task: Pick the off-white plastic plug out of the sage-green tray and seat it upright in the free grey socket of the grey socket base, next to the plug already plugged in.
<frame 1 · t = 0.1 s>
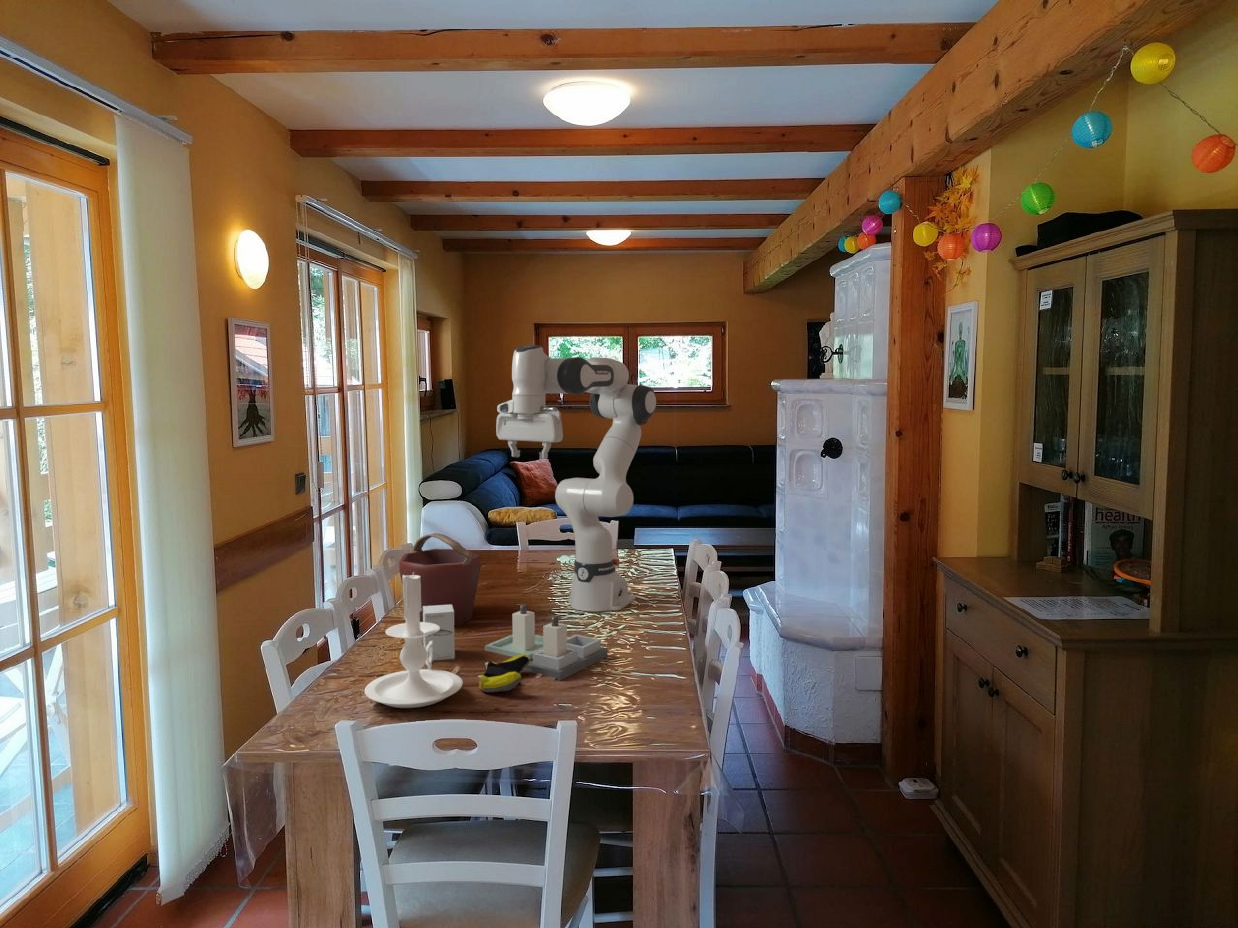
hand: (529, 457, 225), 48 cm above the table, tool pointing down, fingers open, 8 cm apart
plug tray: (523, 649, 215), on the table
grey socket base: (567, 664, 203), on the table
supplement box: (439, 658, 209), on the table
plug: (523, 647, 214), point 1 cm above the table, touching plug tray
bucket: (439, 621, 241), on the table
candlestick: (417, 696, 183), on the table
yellow black curved piece: (503, 686, 190), on the table
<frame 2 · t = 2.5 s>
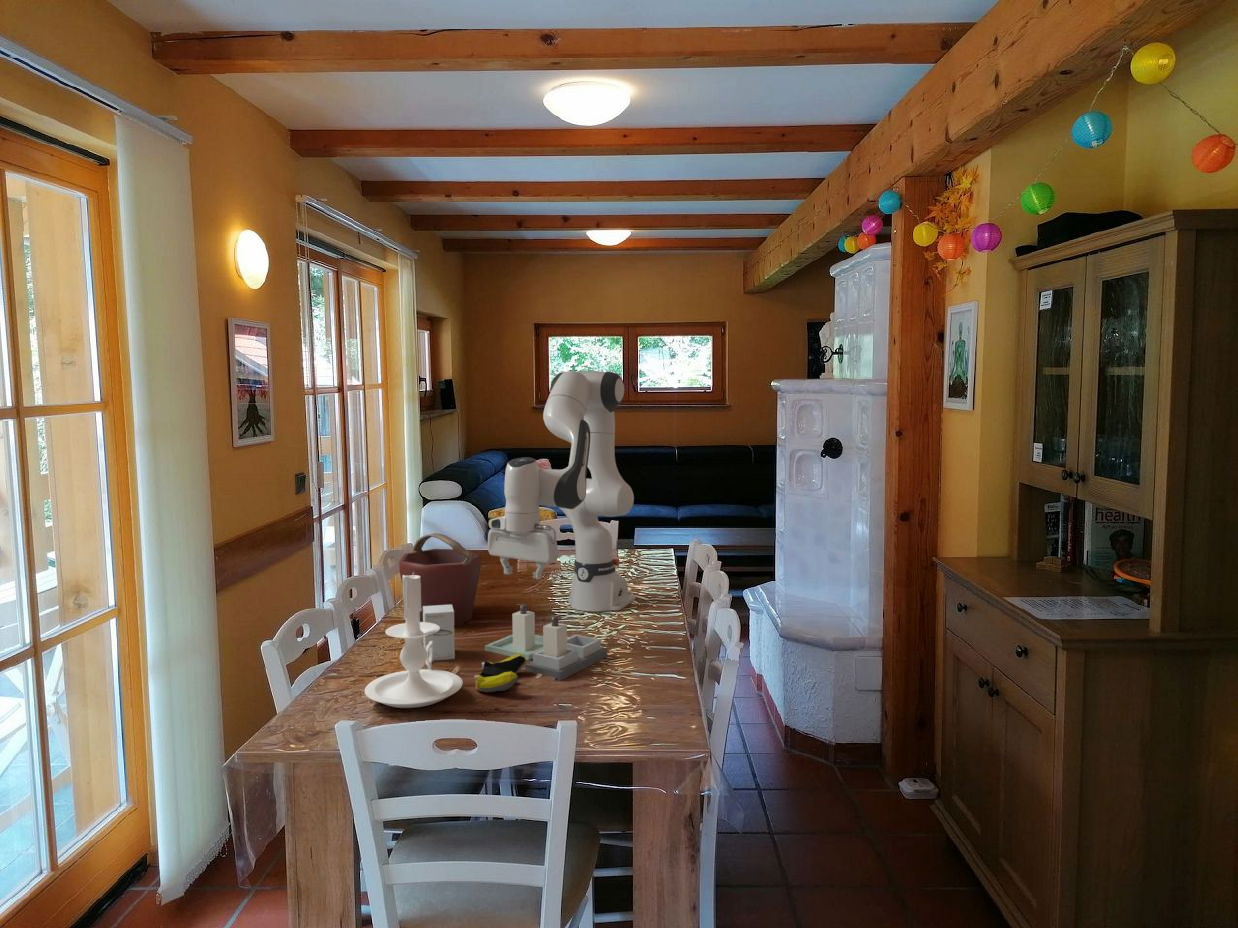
hand: (522, 576, 212), 19 cm above the table, tool pointing down, fingers open, 8 cm apart
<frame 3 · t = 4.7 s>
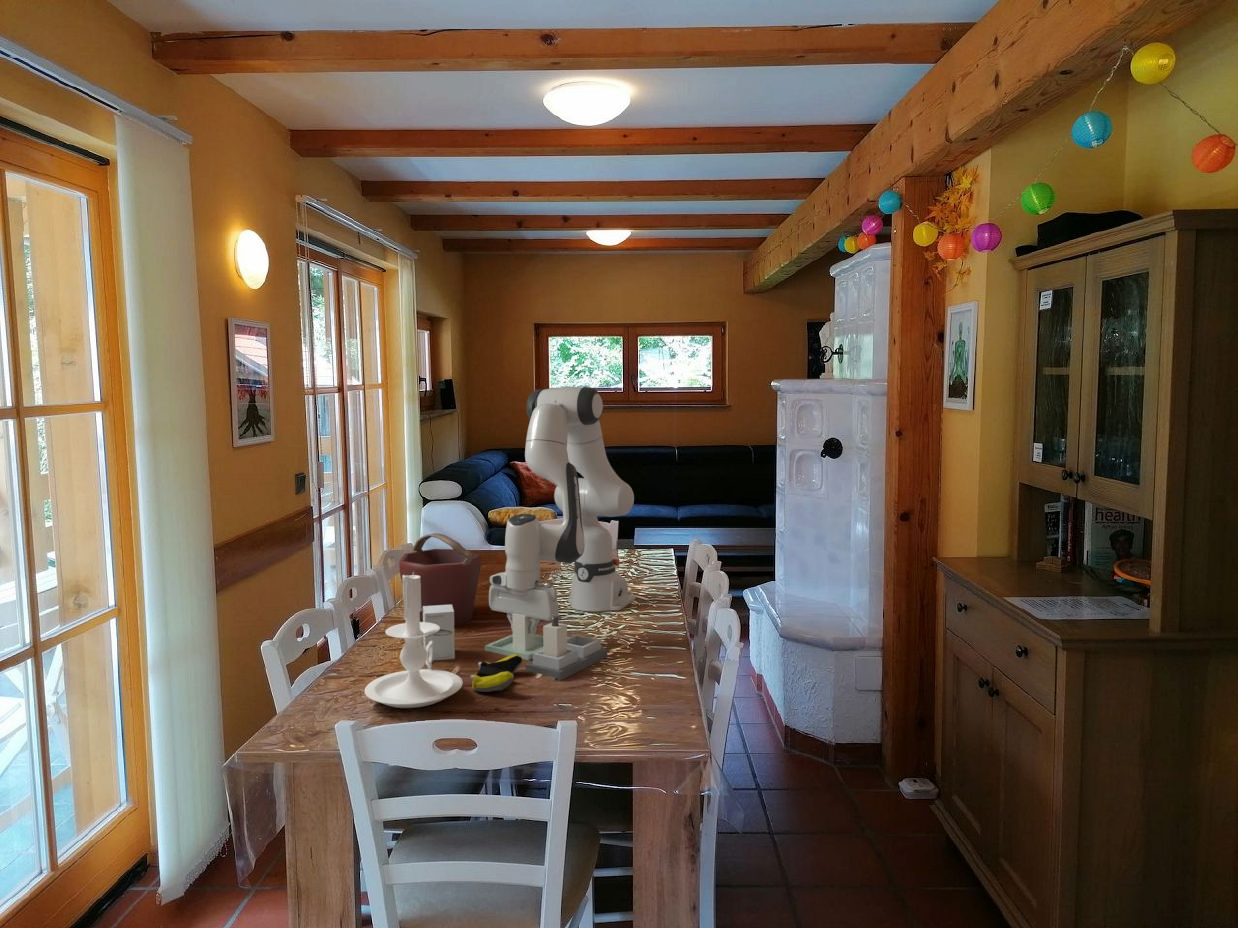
hand: (523, 631, 214), 5 cm above the table, tool pointing down, fingers closed on plug, 4 cm apart
plug: (523, 647, 214), point 1 cm above the table, touching gripper, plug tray
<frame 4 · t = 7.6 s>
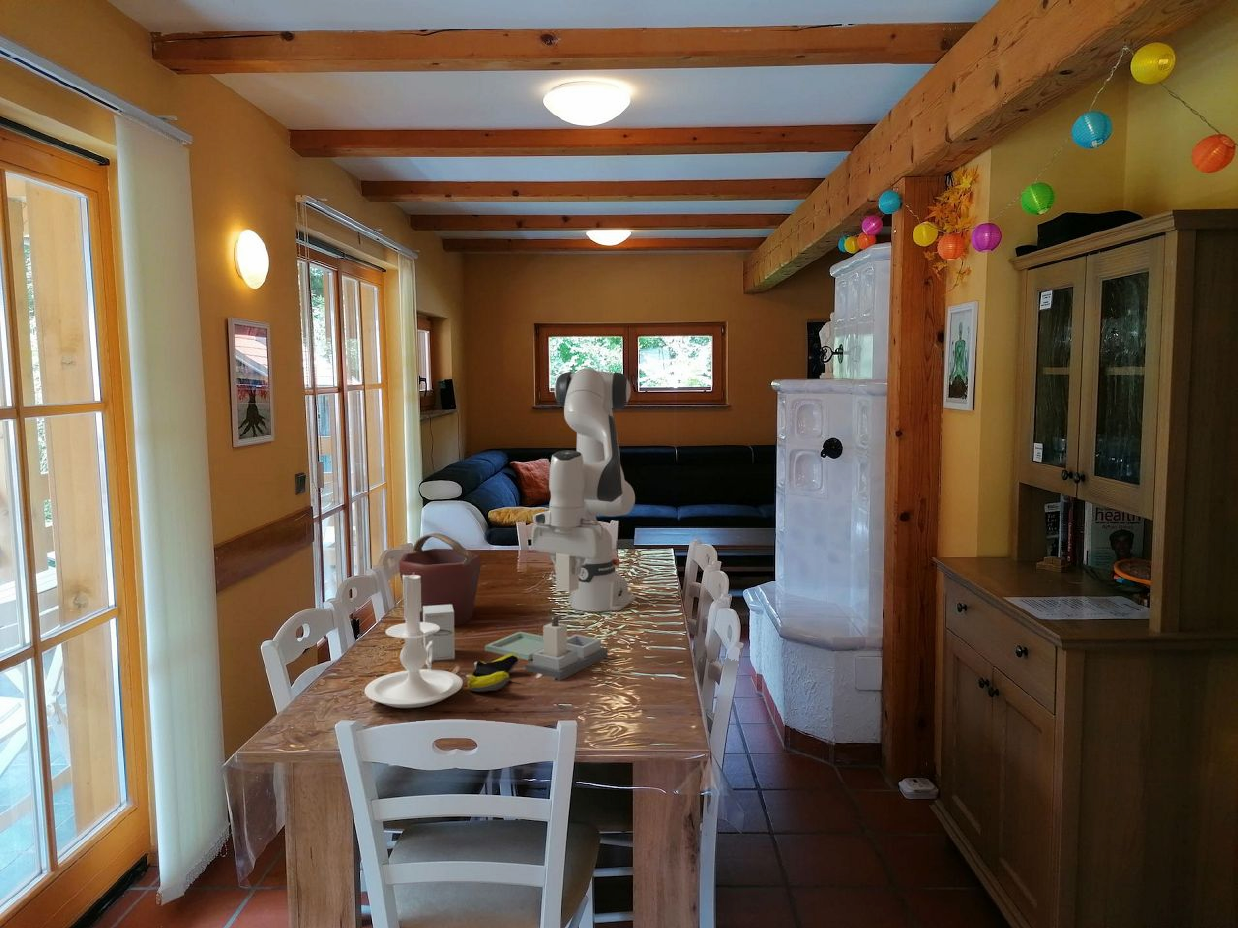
hand: (567, 572, 207), 21 cm above the table, tool pointing down, fingers closed on plug, 4 cm apart
plug: (567, 589, 207), point 17 cm above the table, touching gripper
yellow black curved piece: (492, 686, 190), on the table
everything else where it was.
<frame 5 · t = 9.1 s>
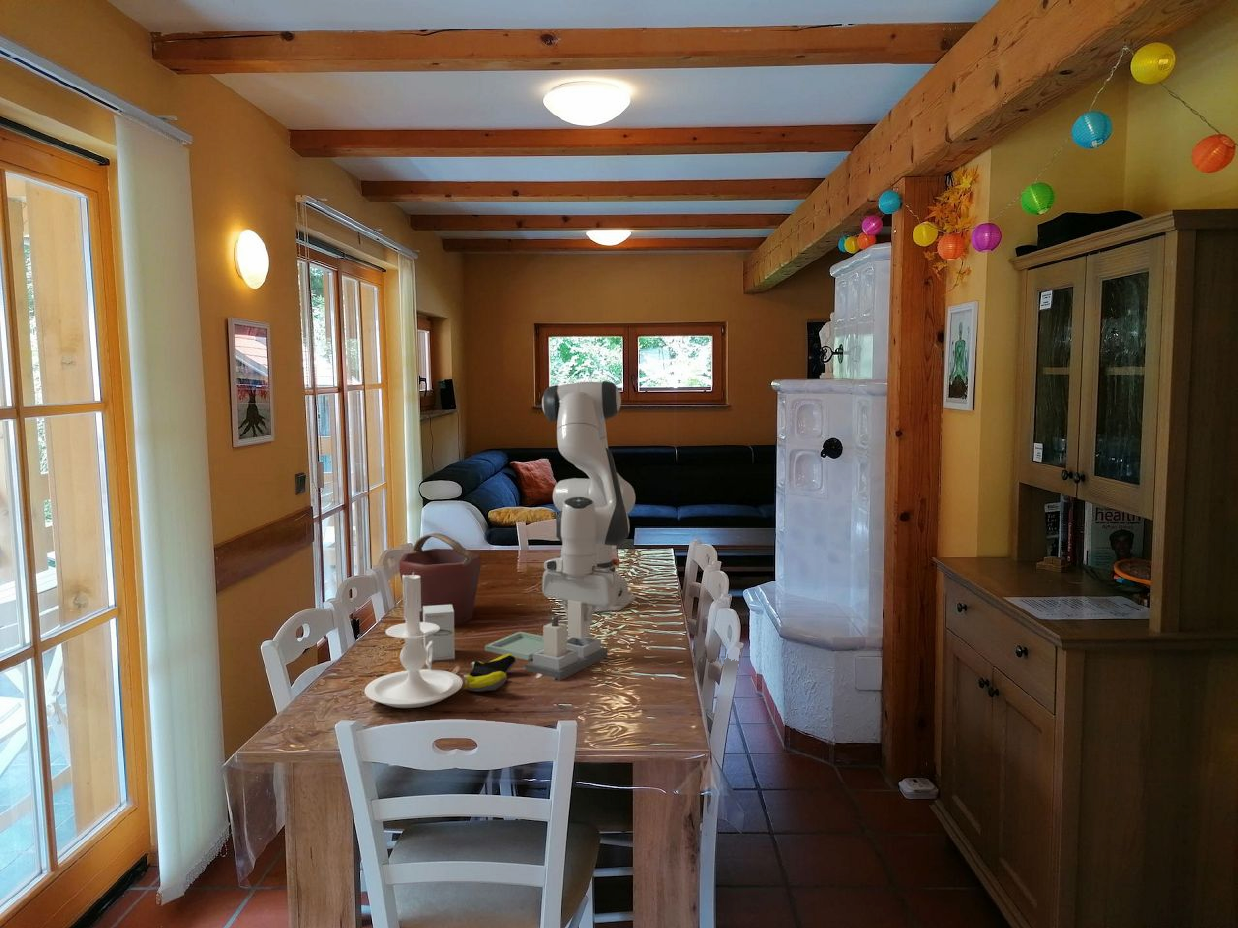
hand: (579, 619, 207), 10 cm above the table, tool pointing down, fingers closed on plug, 4 cm apart
plug: (579, 635, 207), point 6 cm above the table, touching gripper
when the fingers open (6 cm above the table, at t = 10.5 s): plug stays where it is, resting on grey socket base.
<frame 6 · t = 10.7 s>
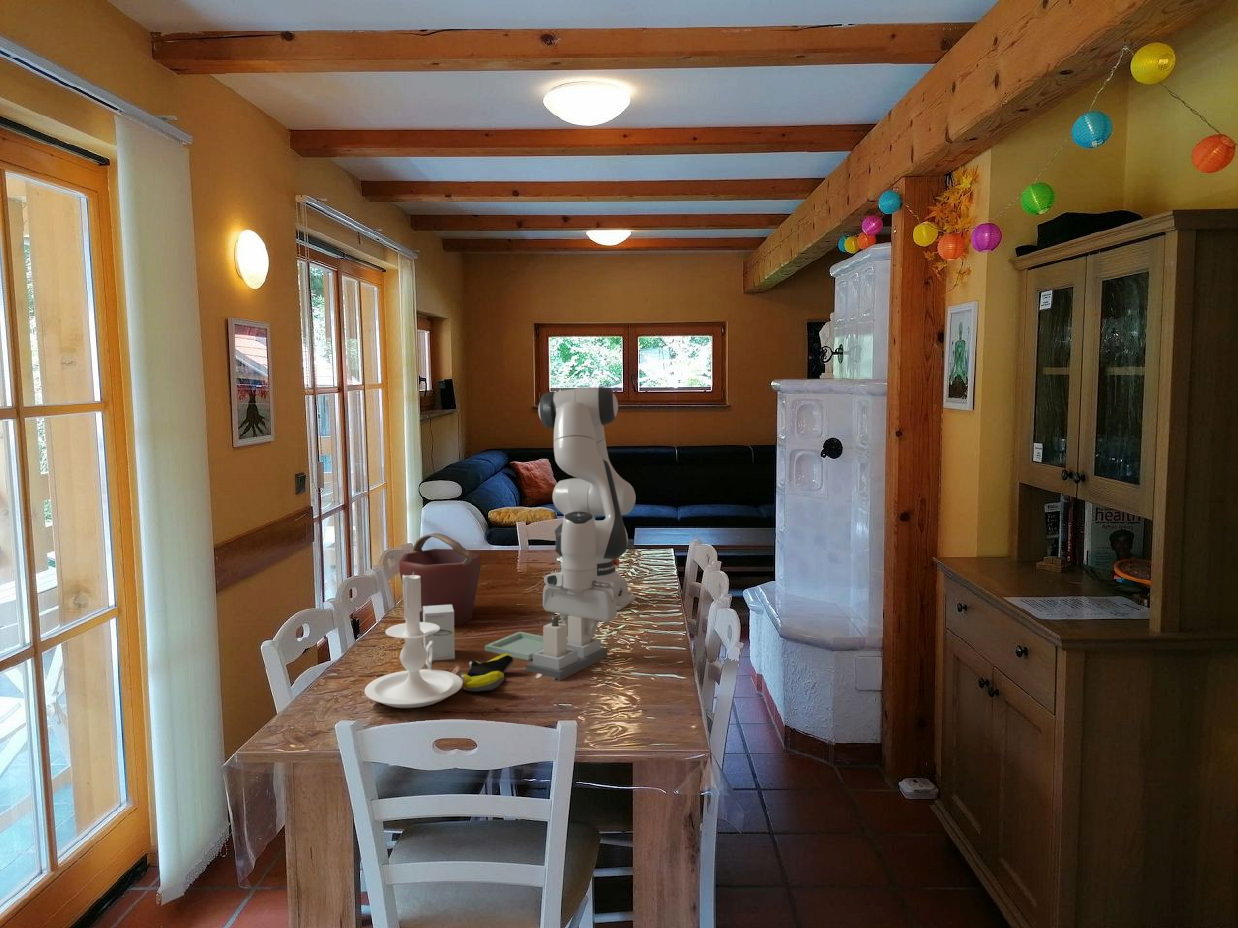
hand: (579, 633, 207), 6 cm above the table, tool pointing down, fingers open, 5 cm apart
plug: (579, 650, 207), point 2 cm above the table, touching grey socket base
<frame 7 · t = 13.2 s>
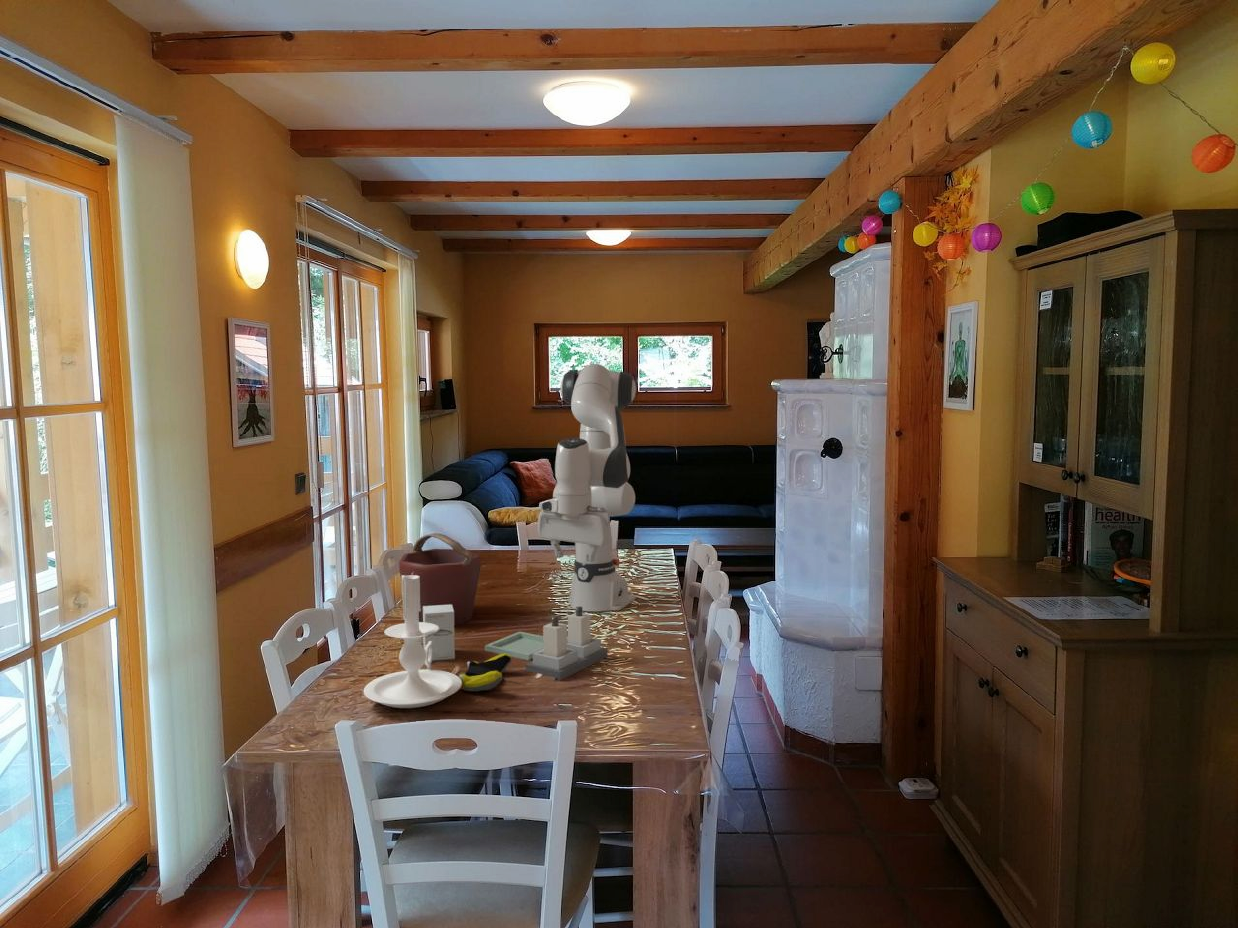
hand: (574, 559, 209), 24 cm above the table, tool pointing down, fingers open, 8 cm apart
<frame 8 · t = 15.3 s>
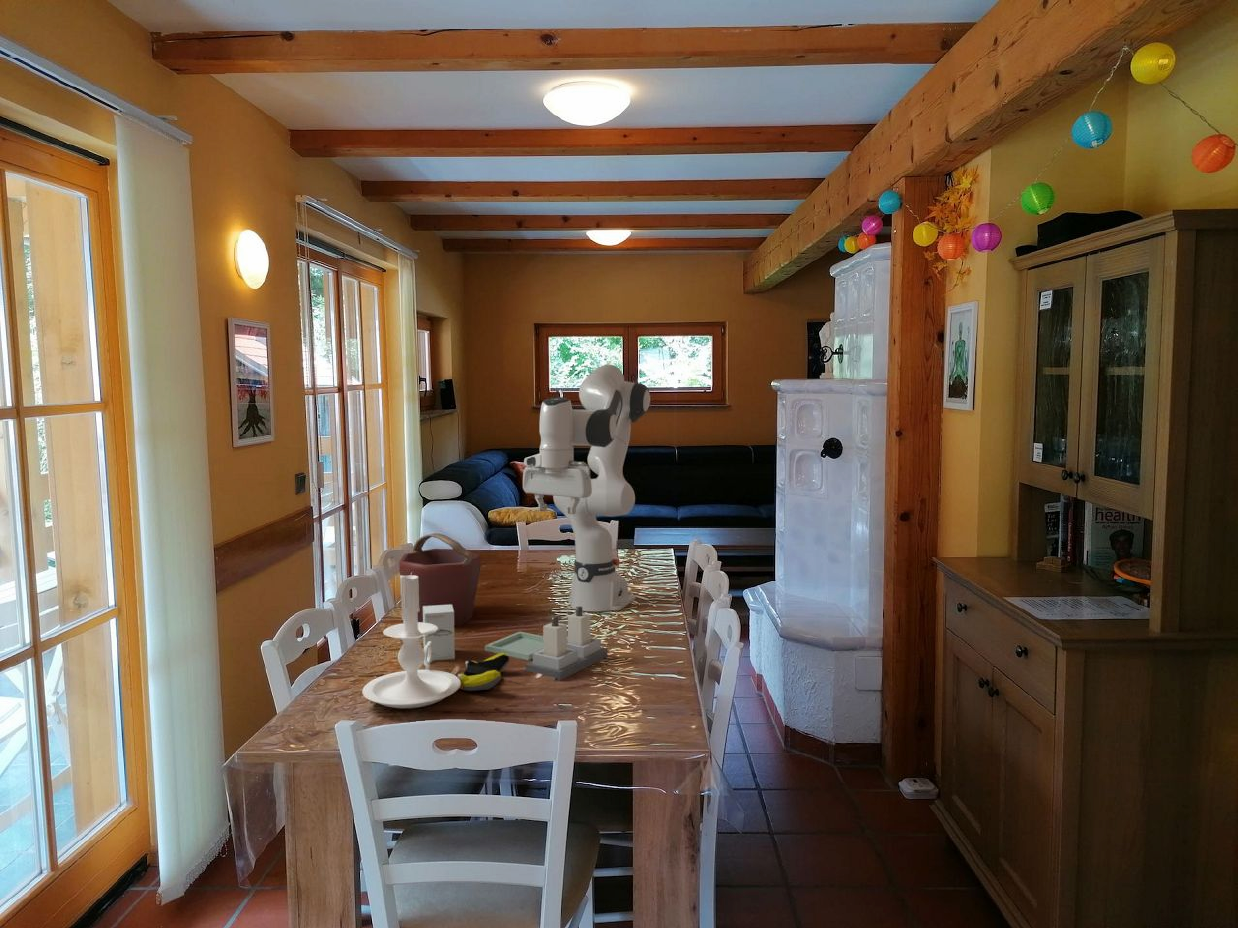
hand: (557, 512, 220), 34 cm above the table, tool pointing down, fingers open, 8 cm apart
at the end: plug 0.0 cm from the target spot on the grey socket base, point 2.0 cm above the grey socket base's base; plug tilted 0°; the gripper is holding nothing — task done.
